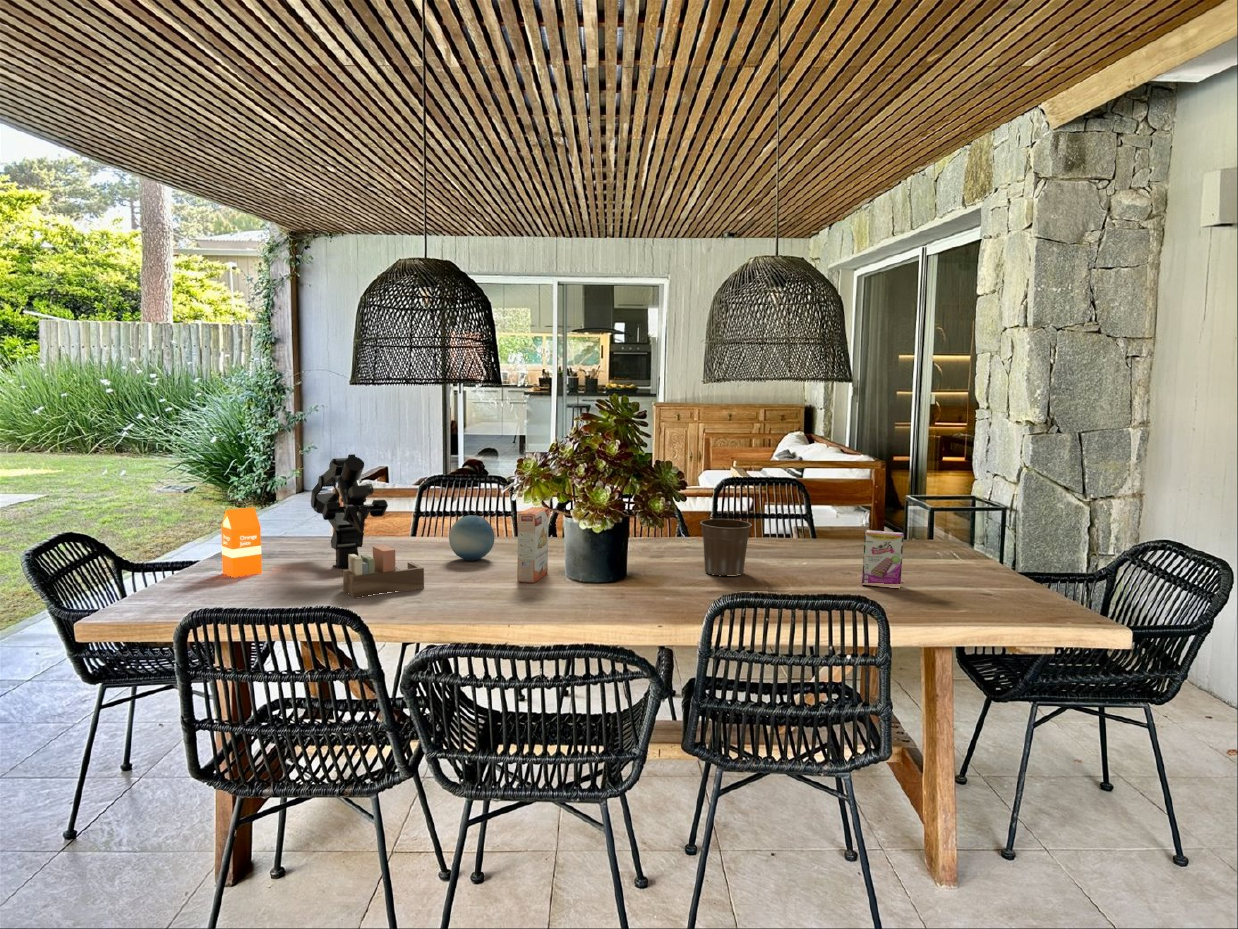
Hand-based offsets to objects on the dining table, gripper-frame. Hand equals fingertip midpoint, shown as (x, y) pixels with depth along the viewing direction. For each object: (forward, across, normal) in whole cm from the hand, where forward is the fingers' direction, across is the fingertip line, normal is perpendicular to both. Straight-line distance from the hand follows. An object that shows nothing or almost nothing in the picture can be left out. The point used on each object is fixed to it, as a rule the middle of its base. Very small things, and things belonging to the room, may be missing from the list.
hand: (362, 531), depth 247 cm
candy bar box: (+76, +123, -62) cm, 157 cm away
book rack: (+23, 0, -4) cm, 23 cm away
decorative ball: (+8, +38, +11) cm, 40 cm away
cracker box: (+31, +42, -13) cm, 54 cm away
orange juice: (-6, -29, +27) cm, 40 cm away
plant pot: (+49, +96, -34) cm, 113 cm away
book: (+23, 0, -4) cm, 23 cm away
